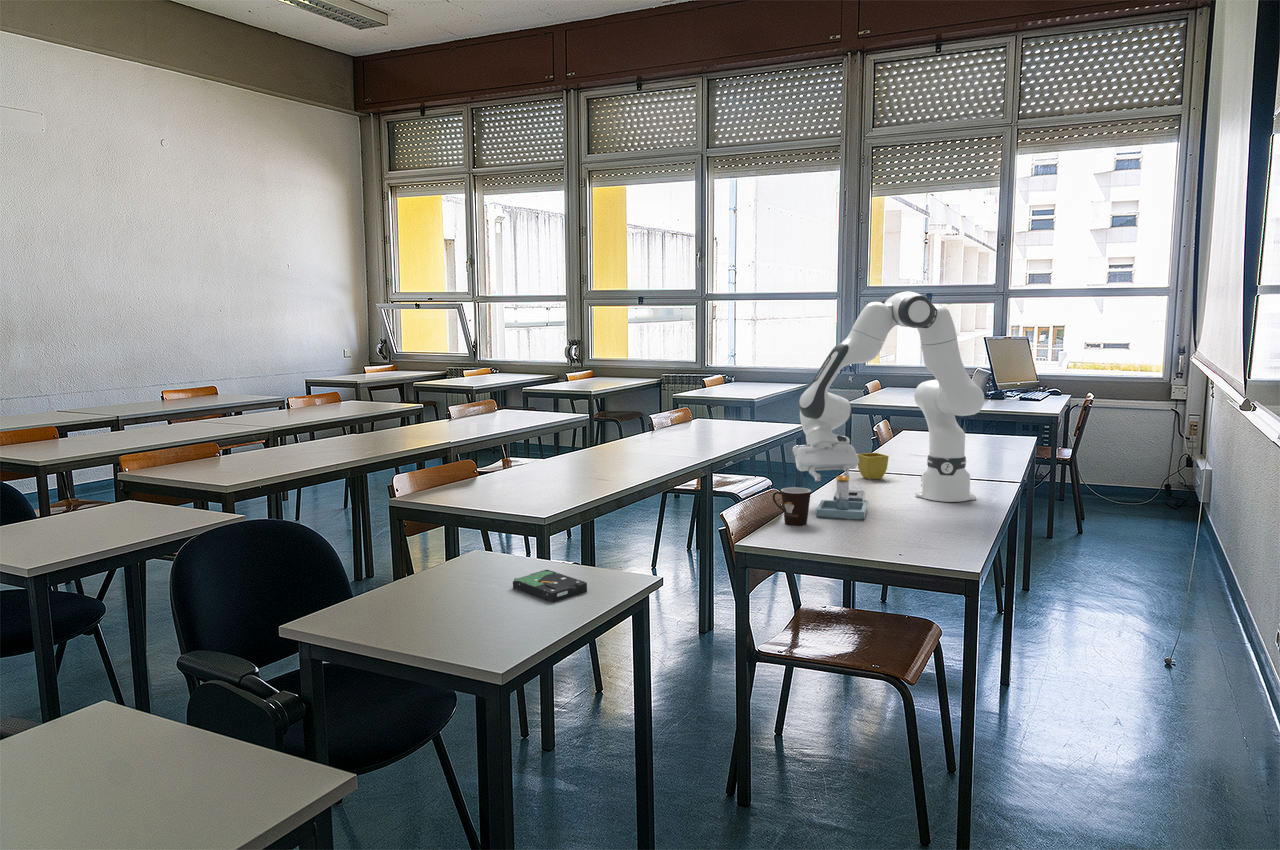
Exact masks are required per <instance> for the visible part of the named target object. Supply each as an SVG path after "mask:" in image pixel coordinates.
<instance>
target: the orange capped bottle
mask: <svg viewBox="0 0 1280 850" xmlns="http://www.w3.org/2000/svg"><path fill="white" fill-rule="evenodd" d="M849 476H850V475H849ZM849 476H843V474H842V475H836V476H835V480H836V491H837V499H836V510H848V499H849V490H850V488H849V486H850V477H849Z"/></svg>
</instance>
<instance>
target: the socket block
mask: <svg viewBox="0 0 1280 850" xmlns="http://www.w3.org/2000/svg"><path fill="white" fill-rule="evenodd" d="M865 493H866V491H865V490H855V489H854V490H852V489H849V499H848V501H854V502H865V498H866V497H865V496H866V494H865ZM836 499H837V490H836V491H835V494H834V495H833V500H834V501H836Z"/></svg>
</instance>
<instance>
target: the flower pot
mask: <svg viewBox="0 0 1280 850" xmlns="http://www.w3.org/2000/svg"><path fill="white" fill-rule="evenodd" d="M857 456H858V458H859V463H858V465H857V468H858V471H859V473H860V475H861V477H862V478H863V477H865V478H864V479H867V480H870V479H872V480H880V479H883V477H884V475H885V474H886V472H887V469H888V463H889V455H886V454H884V453H879V452H869V453H868V452H867V453H866V452H865V453H857Z"/></svg>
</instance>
